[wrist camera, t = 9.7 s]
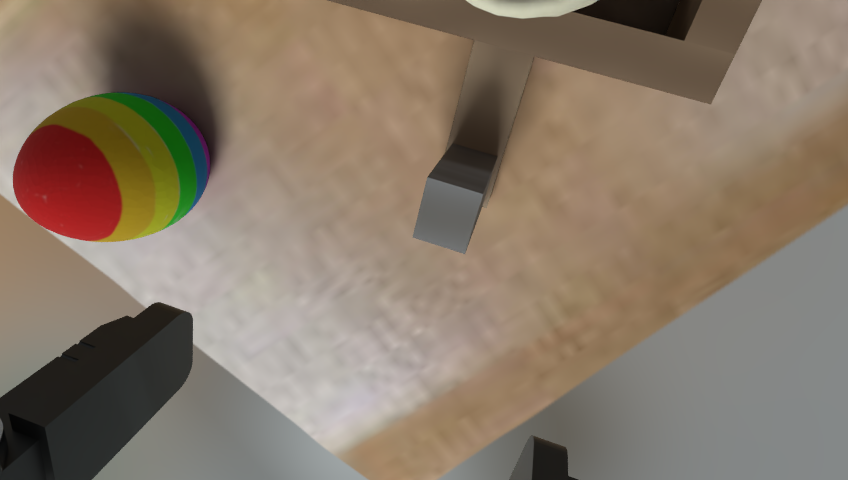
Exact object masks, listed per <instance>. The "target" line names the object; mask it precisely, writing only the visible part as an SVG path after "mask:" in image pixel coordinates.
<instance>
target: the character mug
mask: <svg viewBox="0 0 848 480" xmlns="http://www.w3.org/2000/svg"><path fill="white" fill-rule="evenodd" d="M466 1H467V2H469V3H470V4H472V5H473V6H475V7H477V8H480V9H482V10H485V11H487V12H490V13H492V14H495V15H498V16H506V17H514V18H521V19H524V18H535V17H558V16H561V15H564V14H566V13H569V12H572V11H575V10H577V9H580V8H583V7H586V6H588V5H591V4H593V3H594V2H596V1H598V0H466Z"/></svg>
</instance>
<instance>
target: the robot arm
mask: <svg viewBox="0 0 848 480" xmlns="http://www.w3.org/2000/svg"><path fill="white" fill-rule="evenodd" d="M192 349H193V318H192V315H191V314H190V313H189V312H186V311H183V310H180V309H177V308H175V307H172V306H169V305H166V304H163V303H161V302H157V303H154V304H152V305H151V306H149V307H148V308H147V309H145V310H144V311H143V312H141V313H140V314H139V315H137V316H136V317H135V318H132V317H129V316H125V317H122V318H120V319H117V320H115V321H112V322H109V323H107V324H104V325H101V326H100V327H98V328H97V329H96V330H94V331H93V332H91V333H90V334H89V335H87V336H86V337H84V338H83V339H82V340H80V342H79V344H75V345H73V346H72V347H70V348H69V349H68V350H66V351H65V352H63V353H62V356H61V357H56V358H55V359H54V360H52V361H51V362H50V363H48V364H47V365H45V366H44V367H42V368H41V369H40V370H38V371H37V372H35V373H34V374H33V375H31V376H30V377H29V378H27V379H26V380H24V381H23V382H22V383H20V384H19V385H17V386H16V387H15V388H13V389H12V390H10V391H9V392H8V393H6V394H5V395H3V396H2V397H1V398H0V480H92V479H93V478H94V477H95V476H96V475H97V474H98V472H99V471H101V469H102V468H103V467H104V466H105V465H106V464H107V463H108V462H109V461H110V460H111V459H112V458H113V457H114V456H115V455H116V454H117V453H118V452H119V451H120V450H121V449H122V448H123V447H124V446H125V445H126V444H127V443H128V442H129V441H130V440H131V438H132V437H133V436H134V435H135V434H136V433H137V432H138V431H139V430H140V429H141V428H142V427H143V426H144V425H145V424H146V423H147V422H148V421H149V420H150V419H151V418H152V417H153V416H154V415H155V414H156V413H157V412H158V411H159V410H160V408H162V406H163V405H164V404H165V403H166V402H167V401H168V400H169V399H170V398H171V397H172V396H173V395H174V394H175V393H176V392H177V391H178V390H179V389H180V388H181V387H182V385H183V384H184V382H185V381H186V379H187V377H188V375H189V373H190V370H191V367H192V355H193V353H192V352H193V350H192ZM509 480H578V479H575V478H572V477H569V476H568V455H567V449H566V447H563V446H561V445H558V444H555V443H552V442H549V441H546V440H544V439H541V438H538V437H535V436H530V437H529V439H528V441H527V443H526V445H525V447H524V449H523V451H522V453H521V456H520V458H519V460H518V462H517V464H516V466H515V468H514V470H513V472H512V475H511V477H510V479H509Z"/></svg>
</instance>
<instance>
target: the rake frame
mask: <svg viewBox="0 0 848 480" xmlns="http://www.w3.org/2000/svg"><path fill="white" fill-rule="evenodd" d="M328 1H332V2H335V3H339V4H343V5H347V6H350V7H354V8H358V9H361V10H365V11H369V12H372V13H376V14H380V15H383V16H387V17H391V18H394V19H398V20H402V21H406V22H409V23H413V24H417V25H420V26H424V27H428V28H431V29H435V30H439V31H442V32H446V33H450V34H453V35H457V36H461V37H464V38H468V39H472V40H474V43H473V47H472V51H471V55H470V59H469V63H468V67H467V71H466V75H465V78H464V82H463V86H462V90H461V94H460V98H459V102H458V106H457V110H456V113H455V117H454V121H453V125H452V129H451V133H450V137H449V141H448V144H447V148H446V152H445V154H444V155H443V157H442V158H441V160H440V161H439V162H438V164H437V165H436V166H435V168H434V169H433V170H432V172H431V173H430V174H429V176H428V177H427V181H426V185H425V189H424V193H423V197H422V201H421V205H420V209H419V213H418V217H417V222H416V226H415V230H414V234H413V238H416V239H419V240H423V241H426V242H429V243H432V244H435V245H438V246H441V247H445V248H448V249H451V250H454V251H457V252H460V253H463V254H465V252H466V250H467V247H468V244H469V241H470V239H471V236H472V233H473V230H474V228H475V225H476V222H477V219H478V217H479V214H480V211H481V208H482V207H484V208H487V205H488V202H489V199H490V196H491V193H492V189H493V186H494V183H495V180H496V177H497V173H498V170H499V167H500V164H501V161H502V158H503V154H504V151H505V148H506V145H507V142H508V138H509V135H510V132H511V129H512V126H513V123H514V119H515V116H516V113H517V110H518V107H519V103H520V100H521V97H522V94H523V91H524V88H525V84H526V81H527V78H528V75H529V72H530V68H531V65H532V62H533V59H534V56H535V57H538V58H542V59H546V60H549V61H553V62H557V63H560V64H564V65H568V66H571V67H575V68H579V69H582V70H586V71H590V72H593V73H597V74H601V75H605V76H608V77H612V78H616V79H619V80H623V81H627V82H630V83H634V84H638V85H641V86H645V87H649V88H652V89H656V90H660V91H664V92H667V93H671V94H675V95H678V96H682V97H686V98H689V99H693V100H697V101H700V102H704V103H708V104H711V103H712V101H713V99H714V97H715V95H716V93H717V91H718V89H719V87H720V85H721V82H722V80H723V78H724V76H725V74H726V72H727V70H728V68H729V66H730V64H731V62H732V60H733V58H734V56H735V54H736V52H737V50H738V48H739V46H740V44H741V42H742V40H743V38H744V36H745V34H746V32H747V30H748V28H749V26H750V23H751V21H752V19H753V17H754V15H755V13H756V11H757V9H758V7H759V5H760V3H761V1H762V0H680V1H679V4H678V6H677V8H676V11H675V13H674V16H673V18H672V20H671V23H670V25H669V27H668V30H667V32H666V35H662V34H658V33H654V32H650V31H647V30H643V29H639V28H635V27H631V26H627V25H623V24H620V23H616V22H612V21H608V20H604V19H600V18H596V17H593V16H589V15H585V14H581V13H577V12H573V11H572V12H569V13H566V14H564V15H561V16H558V17H535V18H524V19H521V18H514V17H506V16H498V15H495V14H492V13H490V12H487V11H485V10H482V9H480V8H477V7H475V6H473V5H472V4H470V3H469V2H467V1H466V0H328Z"/></svg>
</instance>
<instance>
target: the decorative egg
mask: <svg viewBox="0 0 848 480" xmlns="http://www.w3.org/2000/svg"><path fill="white" fill-rule="evenodd" d="M209 173H210V156H209V151H208V148H207V144H206V142H205V139H204V137H203V135H202V134H201V132H200V130H199V129H198V127H197V126H196V125H195V124H194V123H193V122H192V120H191V119H189V118H188V117H187V116H186V115H185V114H184V113H182V112H181V111H180V110H178V109H177V108H175V107H174V106H172V105H170V104H168V103H166V102H164V101H162V100H159V99H157V98H154V97H151V96H147V95H142V94H136V93H126V92H118V93H105V94H99V95H95V96H90V97H87V98H84V99H81V100H78V101H75V102H73V103H71V104H69V105H67V106H65V107H63V108H61V109H59V110H58V111H56V112H55V113H53V114H52V115H50V116H49V117H47V118H46V119H45V120H44V121H43V122H42V123H41V124H39V125H38V126H37V127H36V128H35V129H34V131H33V132H32V133H31V134H30V135H29V137H28V138H27V139H26V141H25V143H24V144H23V146H22V148H21V150H20V152H19V154H18V156H17V160H16V163H15V166H14V171H13V188H14V192H15V196H16V198H17V201H18V203H19V204H20V206H21V208H22V209H23V210H24V211H25V213H26V214H27V215H28V216H29V217H30V218H32V219H33V220H34V221H35V222H36V223H38V224H39V225H41V226H43V227H44V228H46V229H48V230H51V231H53V232H55V233H58V234H60V235H63V236H67V237H70V238H75V239H79V240H85V241H93V242H116V241H125V240H131V239H136V238H141V237H144V236H147V235H150V234H153V233H156V232H158V231H161V230H163V229H165V228H167V227H169V226H170V225H172V224H174V223H176V222H177V221H178V220H180V219H181V218H182V217H184V216H185V215H186V214H187V213H188V212H189V211H190V210H191V209H192V208H193V207H194V206H195V205H196V203H197V202H198V201H199V199H200V198H201V196H202V194H203V192H204V190H205V188H206V185H207V182H208V178H209Z"/></svg>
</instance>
